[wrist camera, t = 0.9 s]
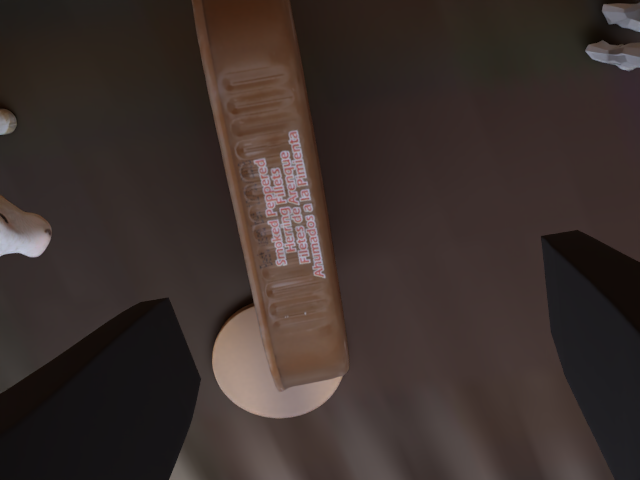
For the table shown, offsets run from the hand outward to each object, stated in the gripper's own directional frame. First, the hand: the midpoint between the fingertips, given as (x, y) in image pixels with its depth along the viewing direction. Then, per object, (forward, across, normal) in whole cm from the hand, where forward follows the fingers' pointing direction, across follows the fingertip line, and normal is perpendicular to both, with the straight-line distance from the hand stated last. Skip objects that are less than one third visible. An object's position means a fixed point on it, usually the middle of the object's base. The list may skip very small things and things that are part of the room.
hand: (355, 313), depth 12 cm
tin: (+14, +4, 0) cm, 14 cm away
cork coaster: (+13, +6, +10) cm, 17 cm away
